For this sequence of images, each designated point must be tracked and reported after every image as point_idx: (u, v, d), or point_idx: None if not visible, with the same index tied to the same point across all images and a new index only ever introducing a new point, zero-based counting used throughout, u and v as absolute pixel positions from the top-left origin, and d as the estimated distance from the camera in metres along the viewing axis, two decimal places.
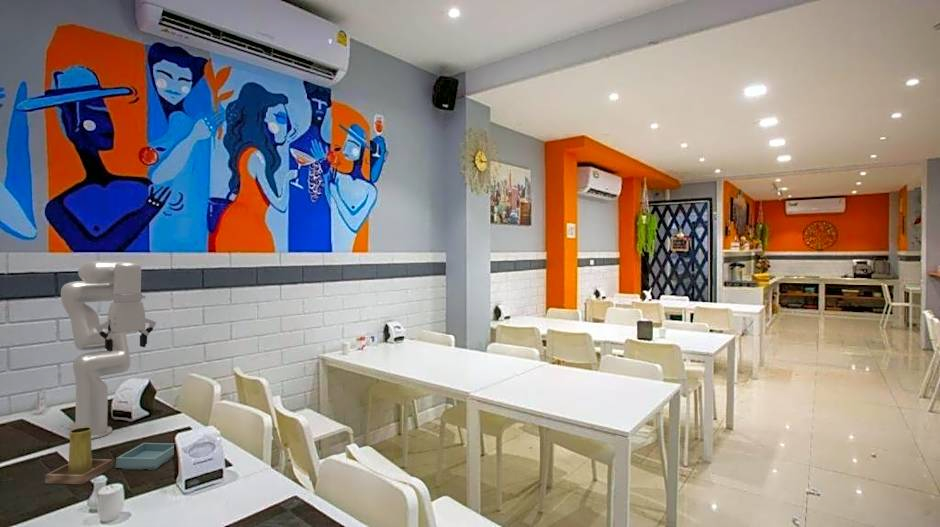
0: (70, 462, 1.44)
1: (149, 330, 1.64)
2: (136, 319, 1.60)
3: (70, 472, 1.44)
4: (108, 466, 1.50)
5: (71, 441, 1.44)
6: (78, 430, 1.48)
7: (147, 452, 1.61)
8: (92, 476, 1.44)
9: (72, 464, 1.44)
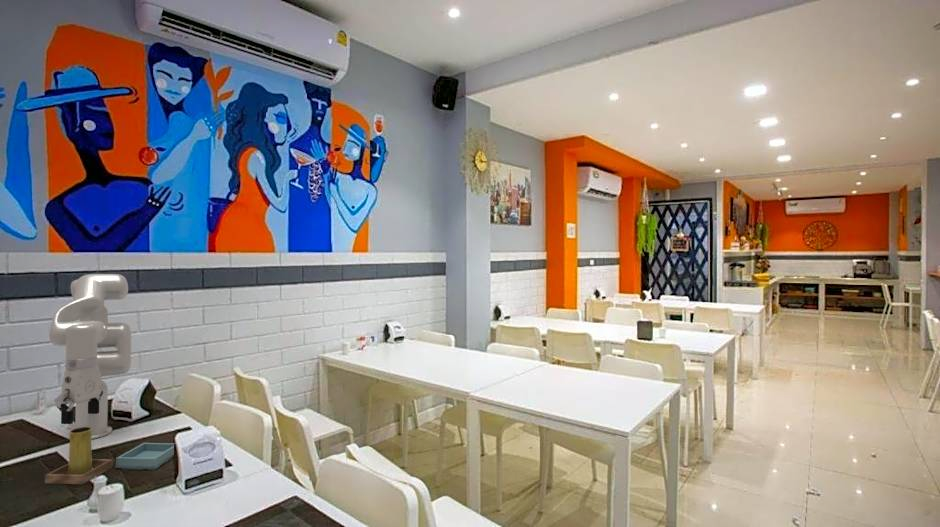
0: (70, 462, 1.44)
1: None
2: None
3: (70, 472, 1.44)
4: (108, 466, 1.50)
5: (71, 441, 1.44)
6: (78, 430, 1.48)
7: (147, 452, 1.61)
8: (92, 476, 1.44)
9: (72, 464, 1.44)
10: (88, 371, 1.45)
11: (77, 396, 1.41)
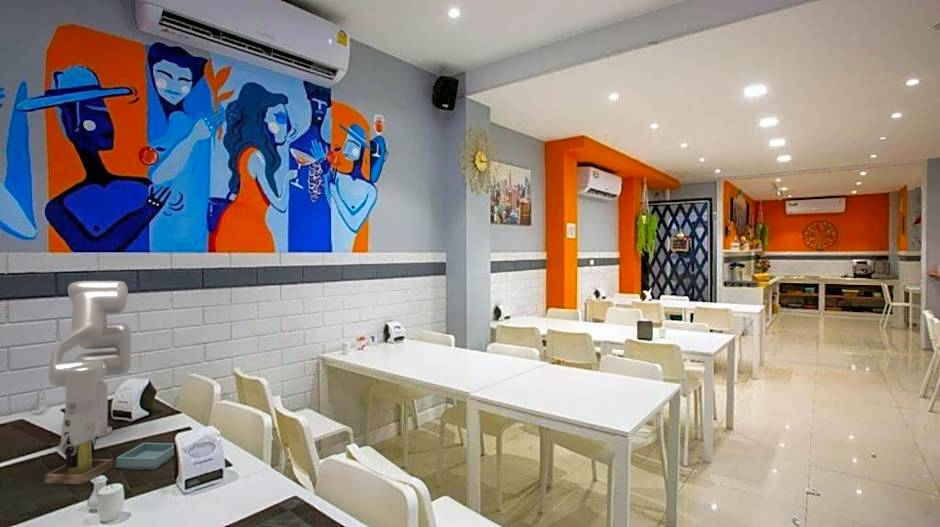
0: None
1: None
2: None
3: (70, 472, 1.44)
4: (108, 466, 1.50)
5: None
6: None
7: (147, 452, 1.61)
8: (92, 476, 1.44)
9: None
10: (87, 413, 1.46)
11: (77, 439, 1.42)
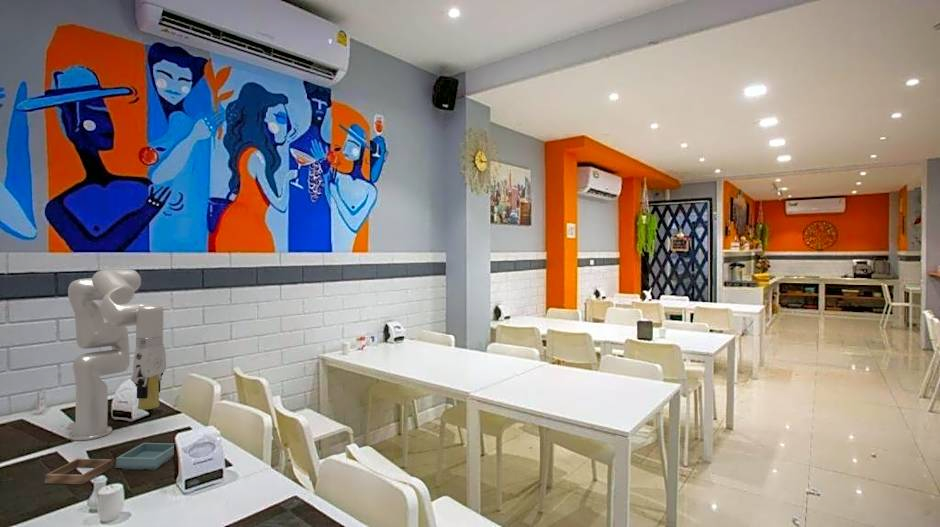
0: None
1: None
2: None
3: (140, 403, 1.54)
4: (108, 466, 1.50)
5: None
6: None
7: (147, 452, 1.61)
8: (92, 476, 1.44)
9: None
10: (156, 349, 1.56)
11: (147, 372, 1.52)
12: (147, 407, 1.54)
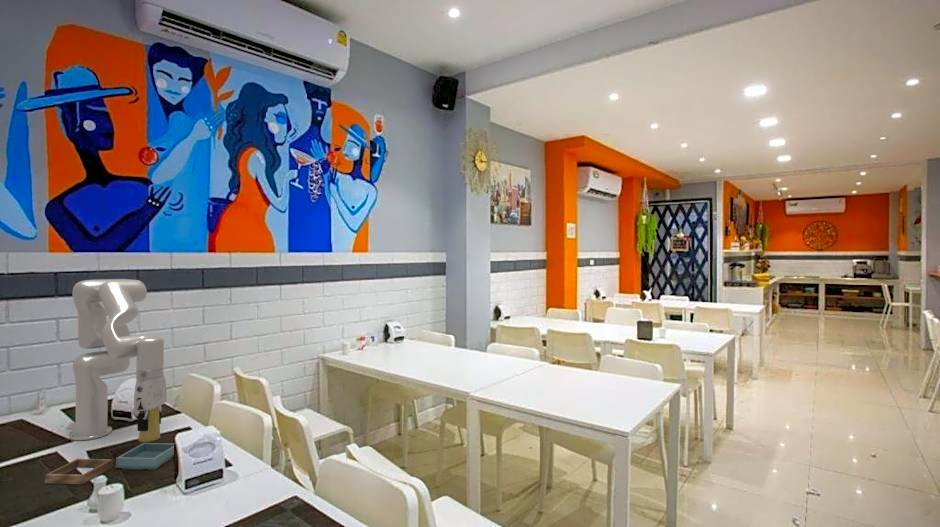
0: None
1: None
2: None
3: (141, 435, 1.54)
4: (108, 466, 1.50)
5: None
6: None
7: (147, 452, 1.61)
8: (92, 476, 1.44)
9: None
10: (156, 381, 1.56)
11: (148, 404, 1.53)
12: (148, 439, 1.54)
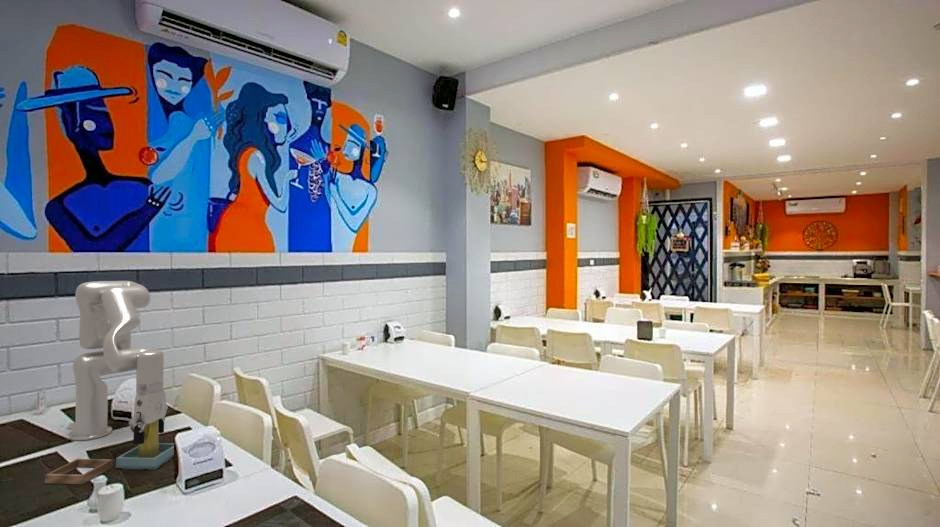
0: (140, 446, 1.55)
1: None
2: None
3: (140, 455, 1.54)
4: (108, 466, 1.50)
5: None
6: None
7: None
8: (92, 476, 1.44)
9: (142, 448, 1.54)
10: (156, 394, 1.56)
11: (148, 418, 1.53)
12: None
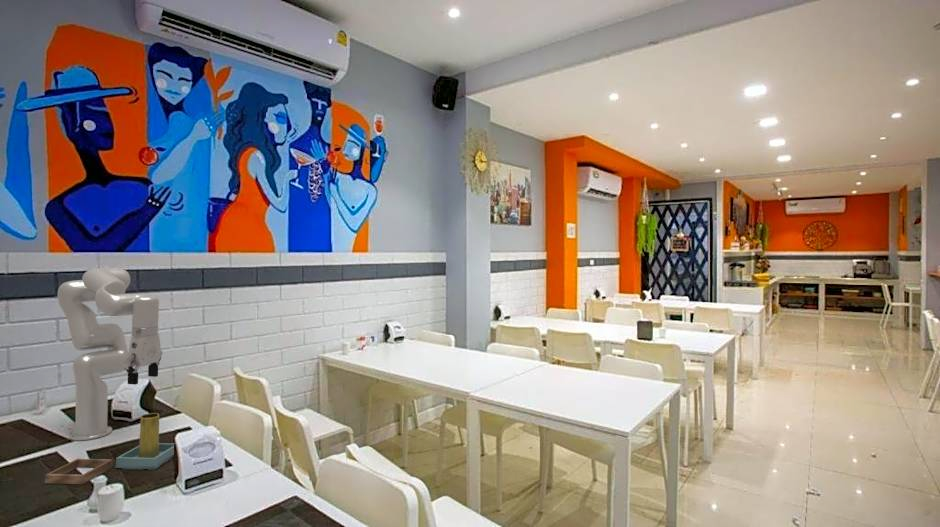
0: (140, 446, 1.55)
1: None
2: None
3: (140, 455, 1.55)
4: (108, 466, 1.50)
5: (142, 426, 1.55)
6: (147, 416, 1.59)
7: None
8: (92, 476, 1.44)
9: (142, 447, 1.55)
10: (151, 338, 1.62)
11: (142, 360, 1.58)
12: None
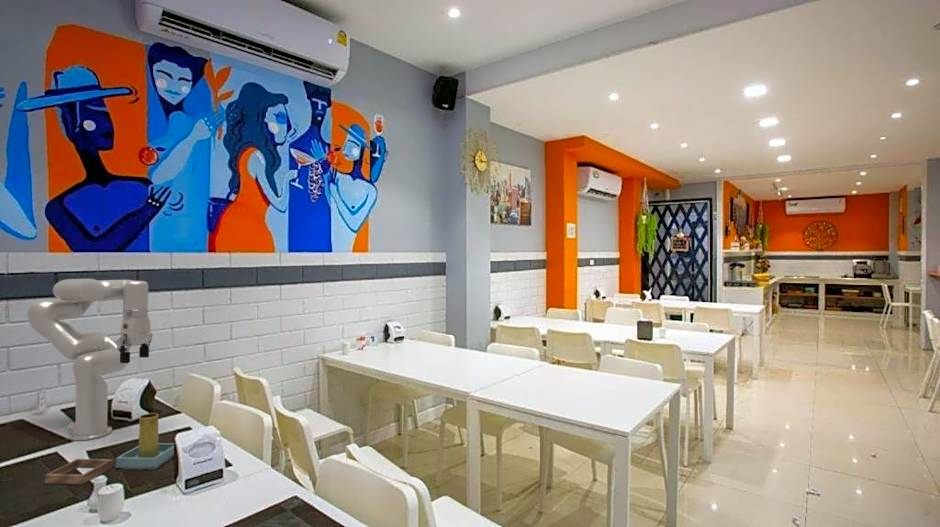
0: (140, 446, 1.55)
1: None
2: None
3: (140, 455, 1.55)
4: (108, 466, 1.50)
5: (141, 426, 1.55)
6: (145, 416, 1.59)
7: None
8: (92, 476, 1.44)
9: (142, 447, 1.55)
10: (141, 320, 1.72)
11: (133, 340, 1.69)
12: None
